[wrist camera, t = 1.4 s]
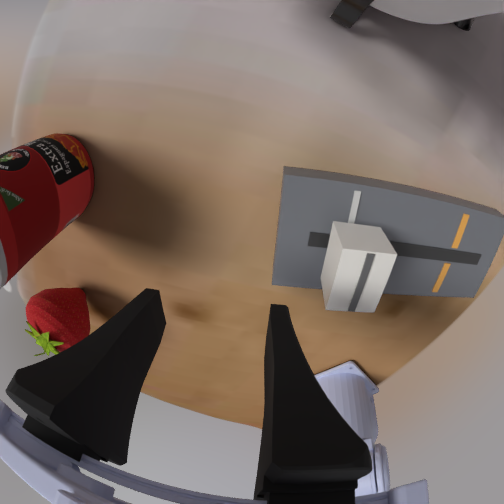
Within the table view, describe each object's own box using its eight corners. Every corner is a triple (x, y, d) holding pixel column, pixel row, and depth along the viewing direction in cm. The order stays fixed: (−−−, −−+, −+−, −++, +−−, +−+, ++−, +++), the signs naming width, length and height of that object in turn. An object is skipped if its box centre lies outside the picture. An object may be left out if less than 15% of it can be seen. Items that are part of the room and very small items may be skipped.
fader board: (496, 209, 16) (509, 220, 14) (464, 284, 20) (474, 298, 18) (283, 166, 17) (284, 175, 15) (272, 268, 21) (271, 285, 19)
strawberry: (57, 253, 23) (-1, 317, 15) (114, 291, 25) (65, 369, 16) (55, 287, 26) (9, 347, 18) (105, 321, 28) (66, 389, 19)
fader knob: (375, 219, 16) (397, 255, 12) (360, 272, 18) (374, 313, 14) (330, 213, 16) (343, 249, 12) (318, 268, 18) (325, 311, 15)
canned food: (106, 146, 17) (-9, 208, 8) (90, 230, 21) (11, 313, 12) (43, 120, 16) (-60, 164, 7) (34, 198, 20) (-44, 260, 11)
